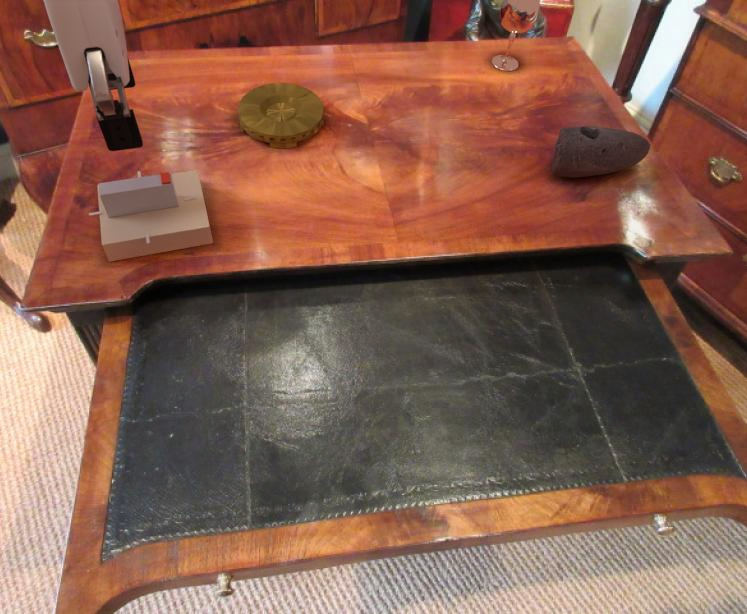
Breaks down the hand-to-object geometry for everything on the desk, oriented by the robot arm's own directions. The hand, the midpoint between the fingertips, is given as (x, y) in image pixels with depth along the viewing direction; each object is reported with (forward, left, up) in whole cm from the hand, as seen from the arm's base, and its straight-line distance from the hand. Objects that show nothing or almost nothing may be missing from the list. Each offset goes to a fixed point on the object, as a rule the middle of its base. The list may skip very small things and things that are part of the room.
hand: (123, 116), depth 61 cm
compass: (+19, +17, -16) cm, 30 cm away
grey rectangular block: (-1, +1, -13) cm, 13 cm away
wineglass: (+58, +24, -16) cm, 65 cm away
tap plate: (0, +1, -16) cm, 16 cm away
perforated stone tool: (+59, -3, -16) cm, 61 cm away
